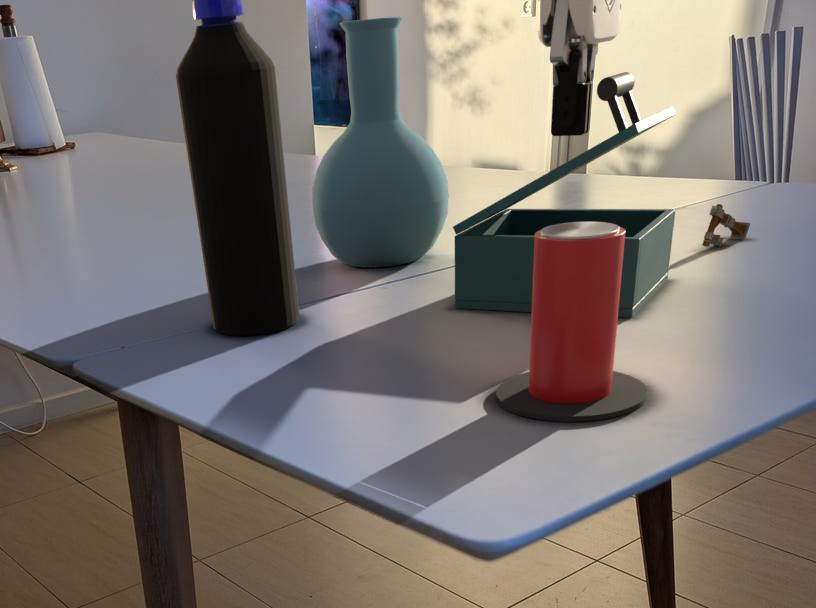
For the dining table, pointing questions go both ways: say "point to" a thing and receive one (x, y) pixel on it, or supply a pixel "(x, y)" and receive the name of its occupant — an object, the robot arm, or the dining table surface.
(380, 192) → the vase
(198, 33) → the bottle
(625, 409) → the coaster
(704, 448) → the dining table surface
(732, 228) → the wooden post with brackets
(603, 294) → the can
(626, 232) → the teal rectangular open box
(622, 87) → the lid
